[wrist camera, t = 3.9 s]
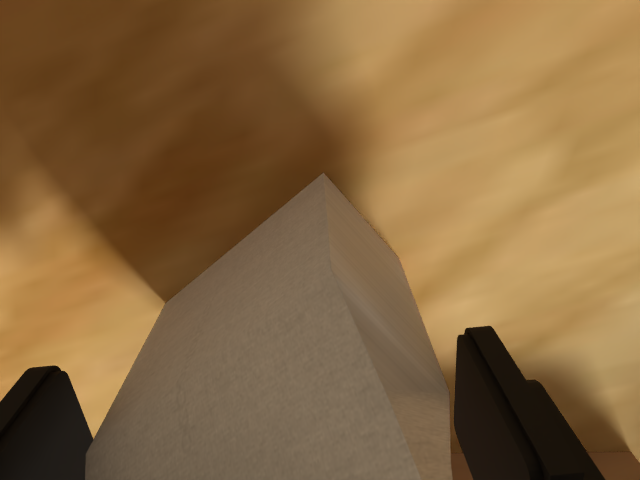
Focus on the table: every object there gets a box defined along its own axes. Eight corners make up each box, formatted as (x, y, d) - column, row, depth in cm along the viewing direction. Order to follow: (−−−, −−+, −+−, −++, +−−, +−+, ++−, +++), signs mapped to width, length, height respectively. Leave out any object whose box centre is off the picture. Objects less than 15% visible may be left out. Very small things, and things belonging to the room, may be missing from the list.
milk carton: (165, 302, 15) (-52, 713, 6) (323, 172, 13) (347, 475, 4) (244, 370, 16) (161, 795, 7) (399, 258, 15) (540, 635, 6)
